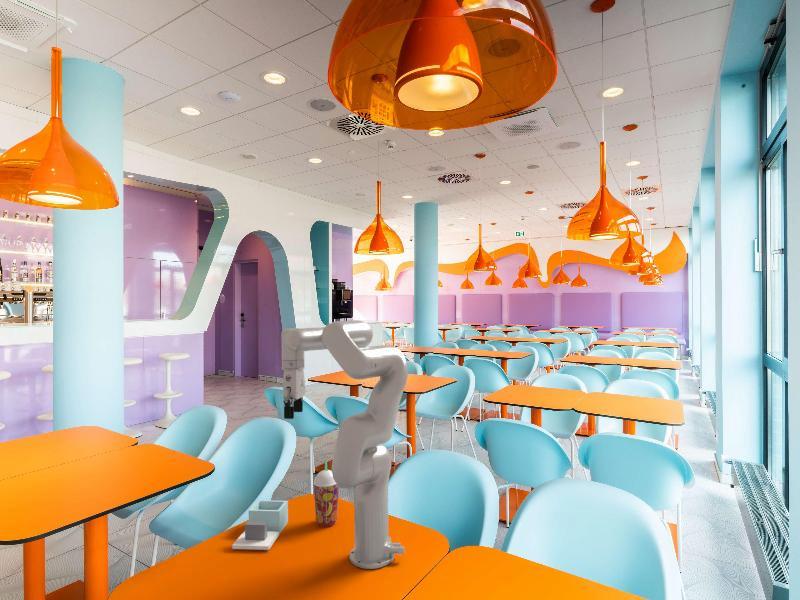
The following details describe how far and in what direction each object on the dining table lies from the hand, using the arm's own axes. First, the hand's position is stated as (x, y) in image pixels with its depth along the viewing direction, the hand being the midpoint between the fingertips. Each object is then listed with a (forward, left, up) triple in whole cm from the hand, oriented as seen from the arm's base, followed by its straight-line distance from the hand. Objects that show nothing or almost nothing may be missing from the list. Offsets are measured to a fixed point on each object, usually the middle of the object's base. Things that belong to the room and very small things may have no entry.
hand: (293, 415), depth 160 cm
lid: (+6, +19, -34) cm, 40 cm away
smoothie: (-12, +4, -34) cm, 37 cm away
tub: (+6, +8, -34) cm, 36 cm away
